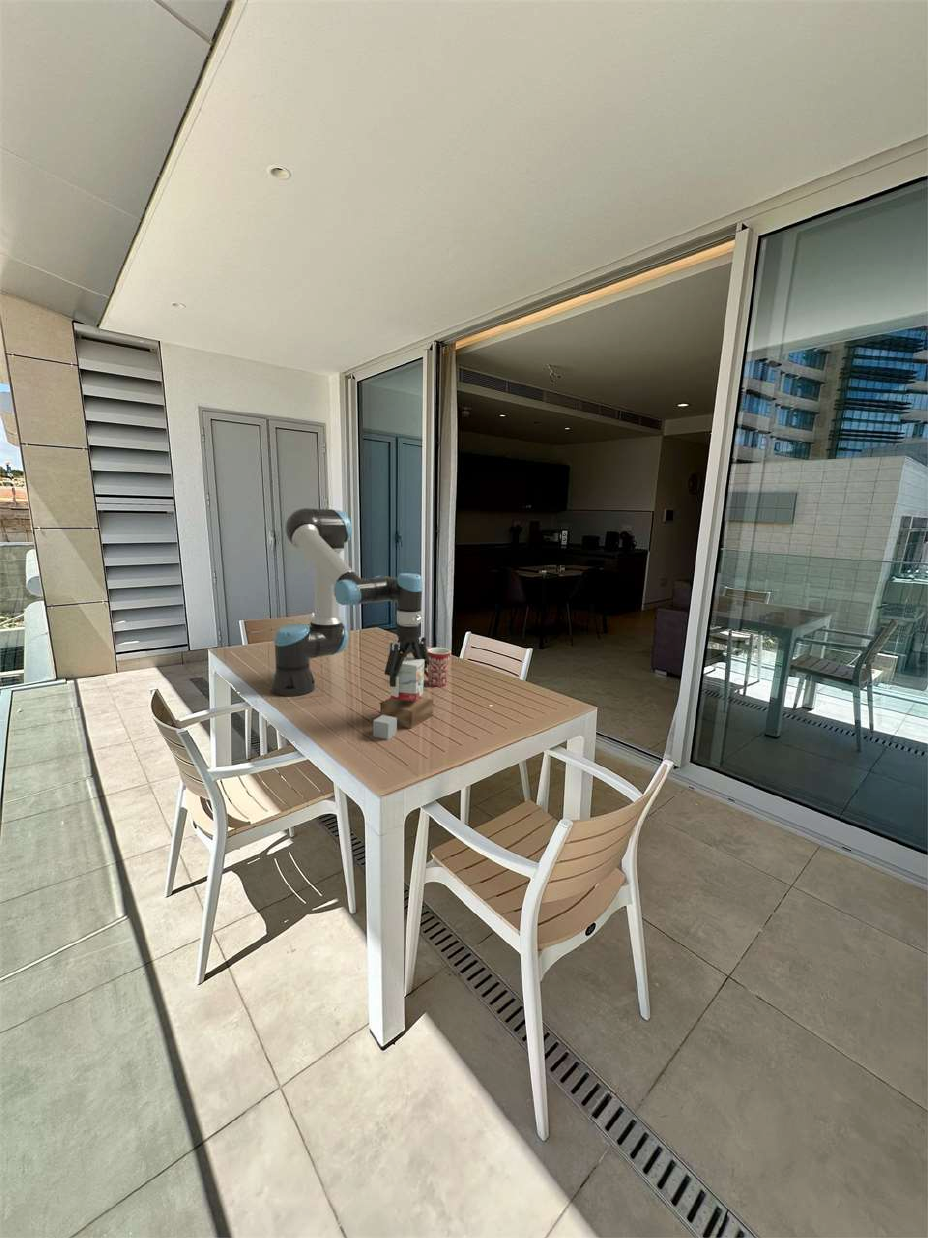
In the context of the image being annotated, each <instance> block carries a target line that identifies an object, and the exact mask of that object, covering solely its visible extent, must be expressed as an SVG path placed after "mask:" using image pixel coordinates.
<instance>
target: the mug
mask: <svg viewBox="0 0 928 1238" xmlns="http://www.w3.org/2000/svg"><path fill="white" fill-rule="evenodd" d="M427 653H428V658H429V665H427V666H428V667H427V670H426V669H425V670H424V676H425V677H426V678H427V684H428V685H429V686H432V687H437V688H441V687H445V686H447V684H448V676H449V668H450V667H449V666H450V657H451V650H450V649H448V648H444V647H431V648H428V649H427Z"/></svg>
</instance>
